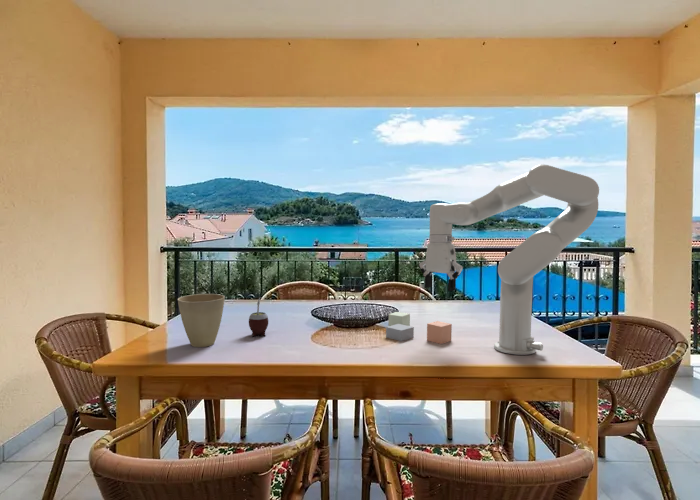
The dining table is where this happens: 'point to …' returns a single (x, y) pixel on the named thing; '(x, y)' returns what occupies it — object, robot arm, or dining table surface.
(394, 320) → the sage cube
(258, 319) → the mate gourd
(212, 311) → the plant pot
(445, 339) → the terracotta cube
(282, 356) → the dining table surface
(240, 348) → the dining table surface
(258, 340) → the dining table surface
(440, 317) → the dining table surface
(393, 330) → the slate-grey block
